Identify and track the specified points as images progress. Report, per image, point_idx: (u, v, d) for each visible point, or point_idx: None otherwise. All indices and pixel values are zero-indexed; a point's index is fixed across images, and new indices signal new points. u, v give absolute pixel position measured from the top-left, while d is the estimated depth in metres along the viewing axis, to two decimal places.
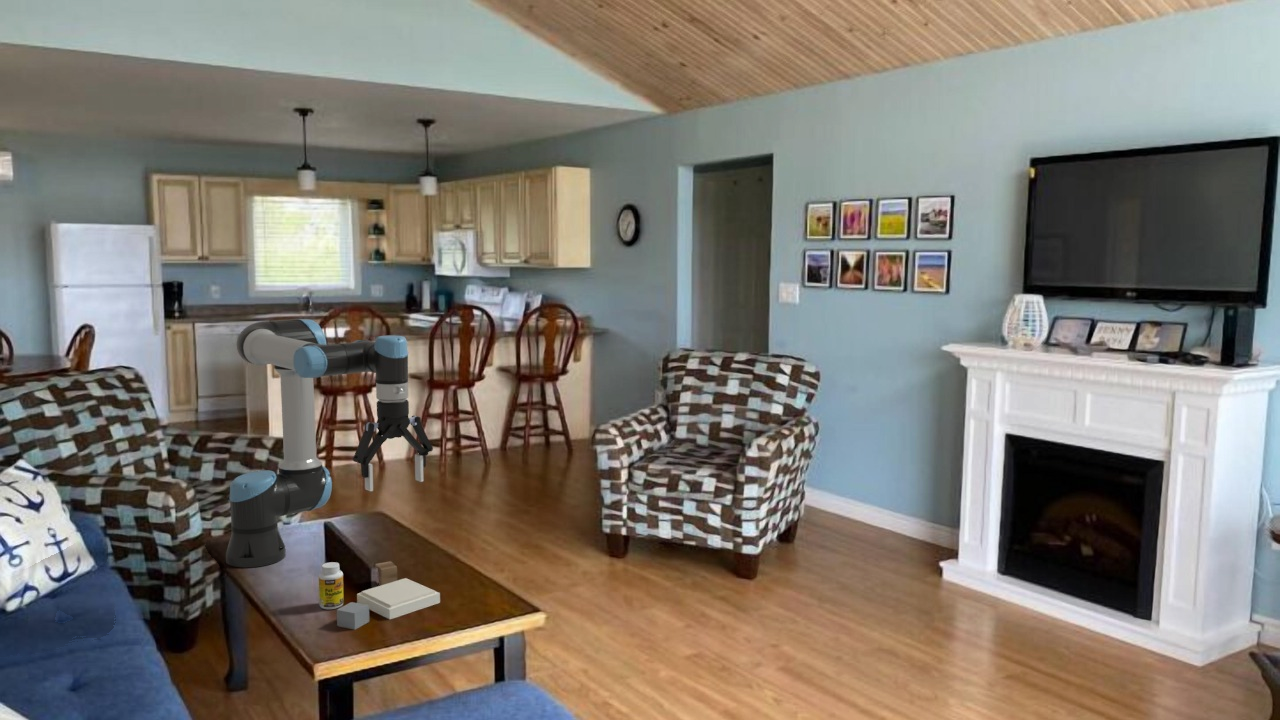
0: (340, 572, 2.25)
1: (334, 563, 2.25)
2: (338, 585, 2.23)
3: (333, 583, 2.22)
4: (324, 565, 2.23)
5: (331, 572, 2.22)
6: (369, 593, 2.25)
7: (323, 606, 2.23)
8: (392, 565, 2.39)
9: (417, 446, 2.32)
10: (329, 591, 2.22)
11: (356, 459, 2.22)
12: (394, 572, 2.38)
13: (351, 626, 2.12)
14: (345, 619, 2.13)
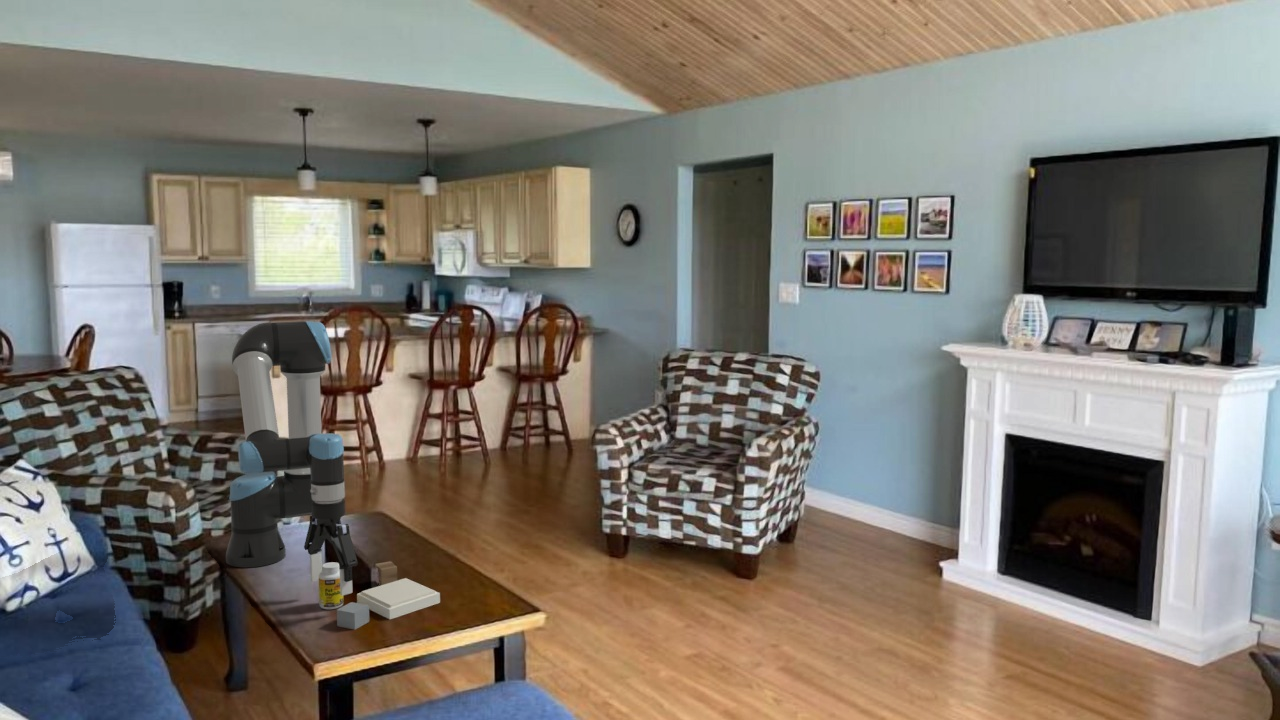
0: None
1: (334, 563, 2.25)
2: (338, 585, 2.23)
3: (333, 583, 2.22)
4: (324, 565, 2.23)
5: (331, 572, 2.22)
6: (369, 593, 2.25)
7: (323, 606, 2.23)
8: (392, 565, 2.39)
9: (338, 556, 2.19)
10: (329, 591, 2.22)
11: None
12: (395, 572, 2.38)
13: (351, 626, 2.12)
14: (345, 619, 2.13)
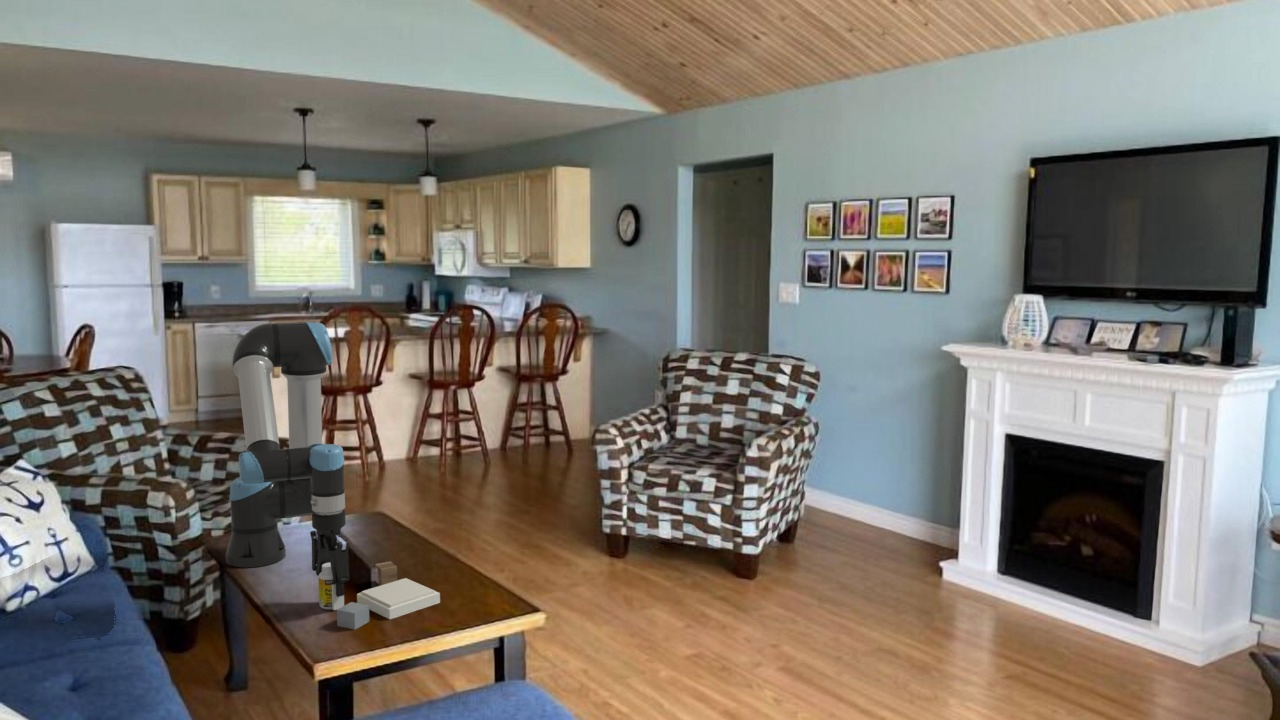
0: None
1: None
2: None
3: None
4: (324, 565, 2.23)
5: (331, 572, 2.22)
6: (369, 593, 2.25)
7: (323, 606, 2.23)
8: (392, 565, 2.39)
9: (332, 569, 2.21)
10: (329, 591, 2.22)
11: None
12: (394, 572, 2.38)
13: (351, 626, 2.12)
14: (345, 619, 2.13)
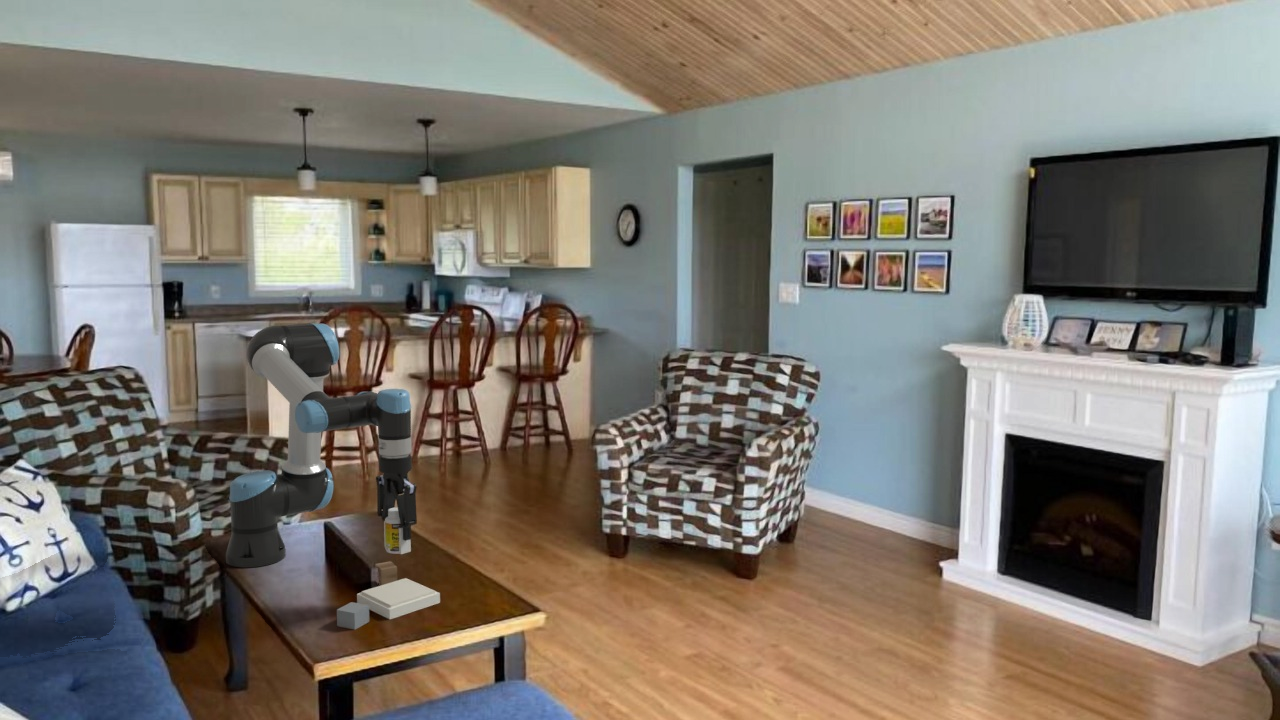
0: None
1: None
2: None
3: None
4: (390, 509, 2.24)
5: (398, 516, 2.23)
6: (369, 593, 2.25)
7: (390, 550, 2.23)
8: (392, 565, 2.39)
9: (399, 513, 2.22)
10: (396, 535, 2.22)
11: None
12: (394, 572, 2.38)
13: (351, 626, 2.12)
14: (345, 619, 2.13)
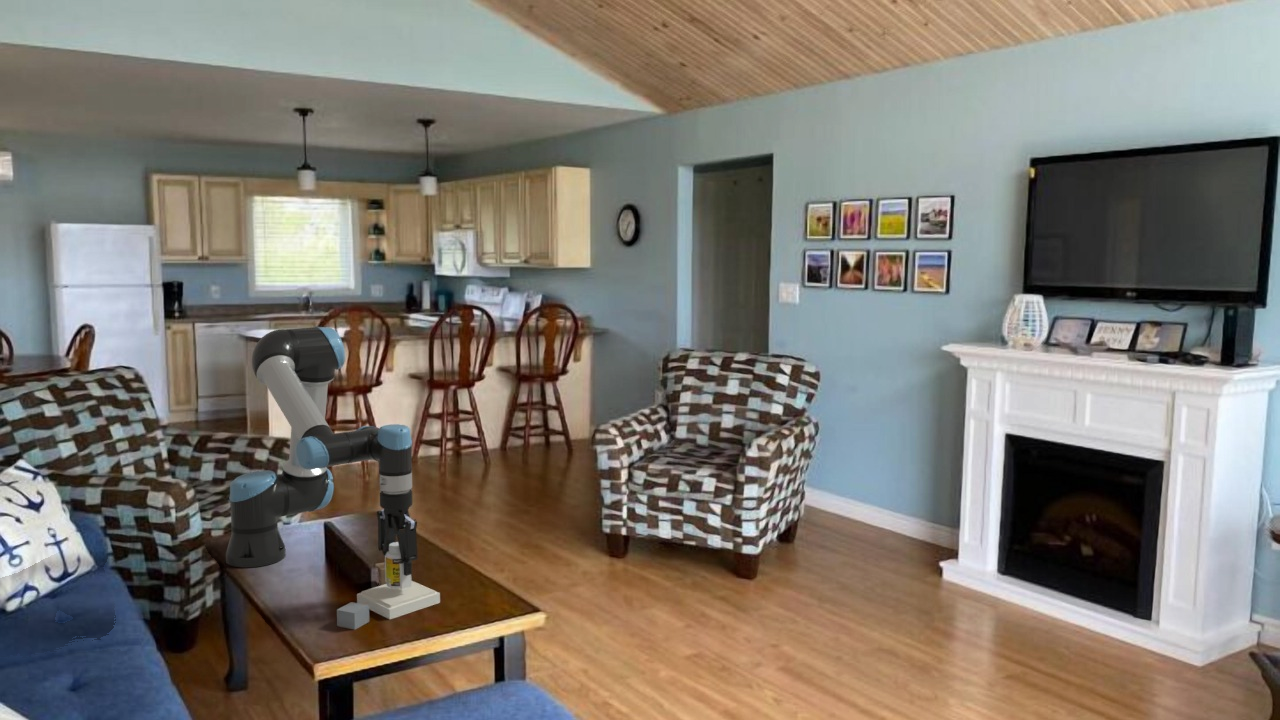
0: None
1: None
2: None
3: None
4: (391, 544, 2.25)
5: (399, 551, 2.24)
6: (369, 593, 2.25)
7: (390, 585, 2.24)
8: None
9: (400, 548, 2.23)
10: (397, 570, 2.24)
11: None
12: None
13: (351, 626, 2.12)
14: (345, 619, 2.13)
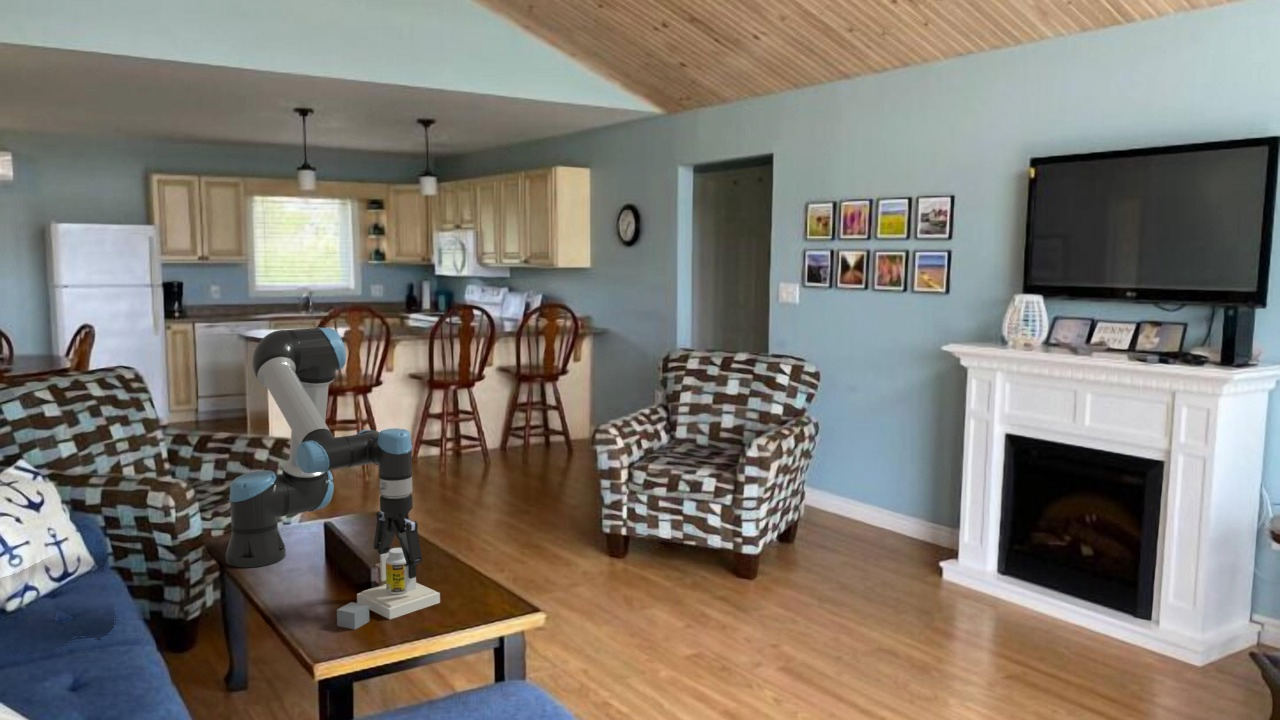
0: None
1: (401, 548, 2.27)
2: None
3: (401, 568, 2.24)
4: (391, 550, 2.25)
5: (399, 557, 2.24)
6: (369, 593, 2.25)
7: (390, 591, 2.25)
8: None
9: (403, 552, 2.22)
10: (397, 576, 2.24)
11: None
12: None
13: (351, 626, 2.12)
14: (345, 619, 2.13)
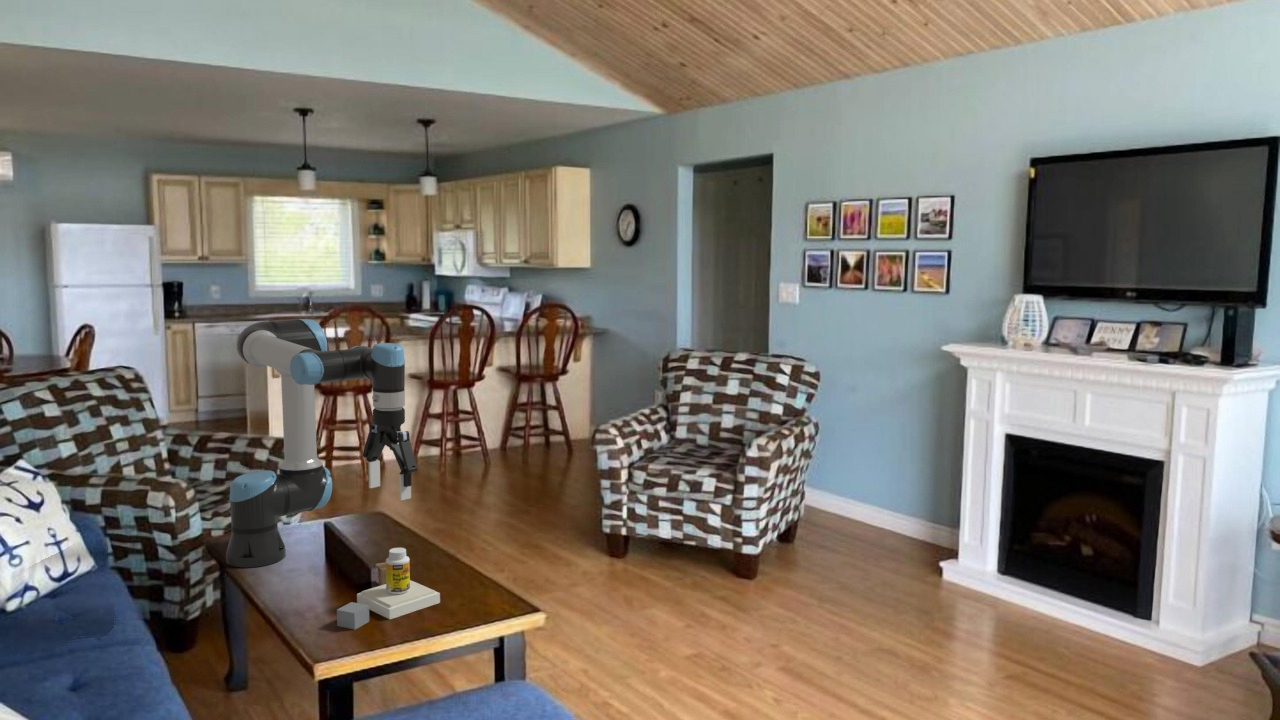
0: (407, 557, 2.26)
1: (401, 548, 2.27)
2: (405, 570, 2.25)
3: (401, 568, 2.24)
4: (391, 550, 2.25)
5: (399, 557, 2.24)
6: (369, 593, 2.25)
7: (390, 591, 2.25)
8: None
9: (398, 462, 2.24)
10: (397, 576, 2.24)
11: None
12: None
13: (351, 626, 2.12)
14: (345, 619, 2.13)
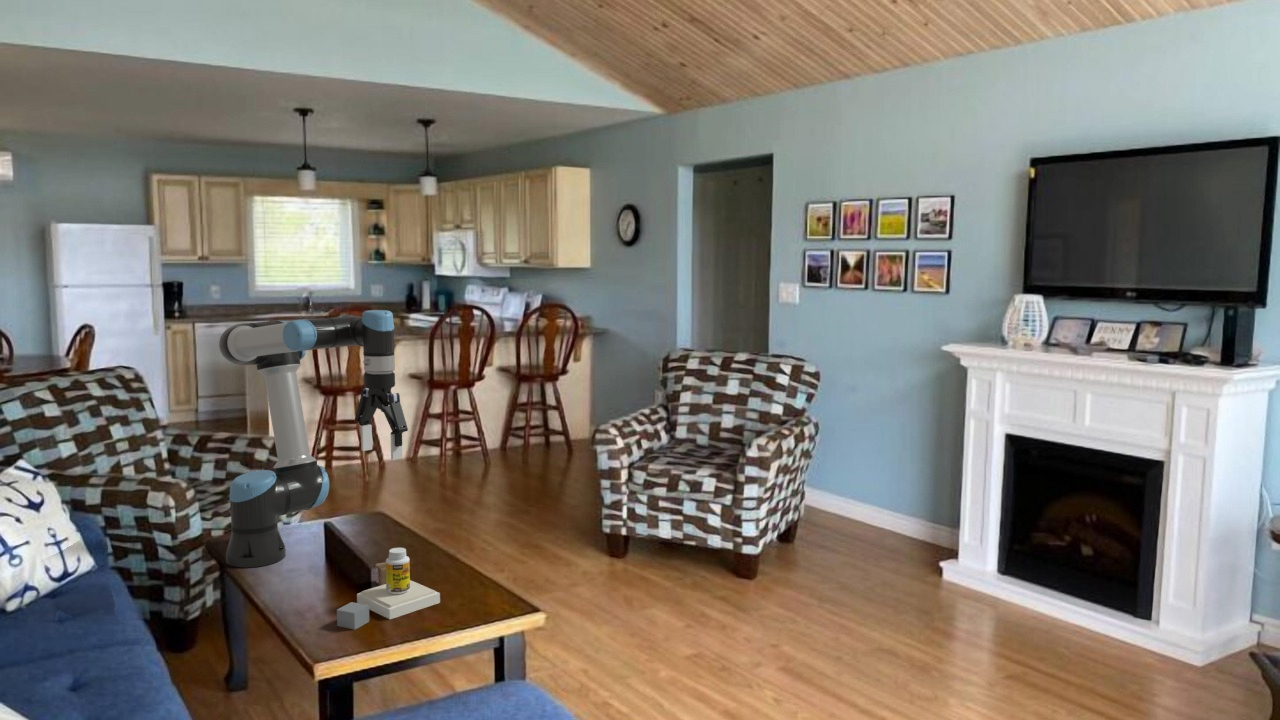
0: (407, 557, 2.26)
1: (401, 548, 2.27)
2: (405, 570, 2.25)
3: (401, 568, 2.24)
4: (391, 550, 2.25)
5: (399, 557, 2.24)
6: (369, 593, 2.25)
7: (390, 591, 2.25)
8: None
9: (389, 422, 2.34)
10: (397, 576, 2.24)
11: None
12: None
13: (351, 626, 2.12)
14: (345, 619, 2.13)
